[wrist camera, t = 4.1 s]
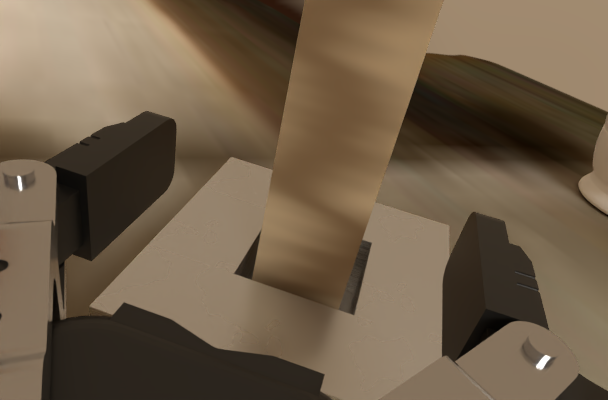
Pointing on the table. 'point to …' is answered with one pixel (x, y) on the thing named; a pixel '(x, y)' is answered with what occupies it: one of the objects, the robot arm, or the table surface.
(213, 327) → the socket block
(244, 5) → the table surface
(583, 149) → the table surface
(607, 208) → the jar
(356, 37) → the peg
